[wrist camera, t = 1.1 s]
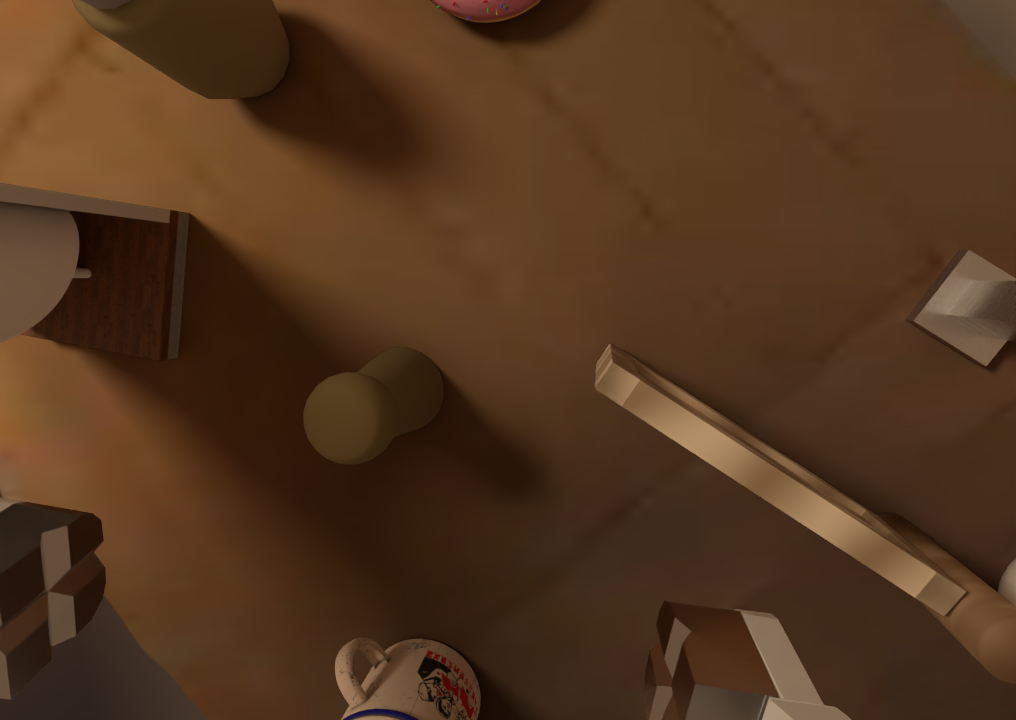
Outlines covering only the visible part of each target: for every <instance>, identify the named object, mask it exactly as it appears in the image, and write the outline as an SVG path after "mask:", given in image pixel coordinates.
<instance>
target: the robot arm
mask: <svg viewBox="0 0 1016 720" xmlns="http://www.w3.org/2000/svg"><path fill="white" fill-rule="evenodd" d="M103 541H104V540H103V532H102V523H101V520H100V519H99V518H98V517H96V516H95V515H94V514H93V513H87V512H82V511H76V510H70V509H64V508H59V507H53V506H47V505H41V504H36V503H30V502H22V501H17V500H11V499H4V498H0V698H4V699H11V698H13V697H14V696H15V695H16V694H17V693H18V692H19V691H20V690H21V689H22V688H23V687H24V686H25V685H26V684H27V683H28V682H29V681H30V680H31V679H32V678H33V677H34V676H35V675H36V674H37V673H38V672H39V671H40V670H41V669H42V668H43V667H44V666H46V665H47V664H48V663H49V662H50V661H51V657H52V646H54V645H56V644H58V643H60V642H63V641H65V640H67V639H69V638H72V637H74V636H76V635H77V634H78V633H79V632H80V631H81V630H82V629H83V628H84V627H85V626H86V625H87V624H88V623H89V622H90V621H91V619H92V618H93V616H94V614H95V612H96V610H97V608H98V607H99V605H100V603H101V601H102V599H103V594H104V589H105V584H106V575H105V567H104V565H103V564H102V563H101V561H100V560H99V559H98V557H97V556H96V555H95V553H94V552H95V550H96V549H97V548H98V547H99V546H100V544H101V543H102V542H103ZM656 626H657V630H658V634H659V639H660V642H659V643H658V644H657V645H656V646H655V647H653V648H652V649H651V650H650V652H649V656H648V661H647V666H646V671H645V685H644V697H645V709H646V715H647V720H851V719H850V718H849V717H848V716H846V715H845V714H844V713H843V712H841V711H840V710H839V709H838V708H836V707H831V706H825V705H824V704H823V702H822V700H821V698H820V697H819V695H818V693H817V691H816V689H815V687H814V685H813V684H812V682H811V680H810V678H809V676H808V674H807V672H806V671H805V669H804V667H803V665H802V663H801V661H800V659H799V658H798V656H797V654H796V652H795V650H794V648H793V646H792V645H791V643H790V641H789V639H788V637H787V635H786V633H785V632H784V630H783V628H782V626H781V624H780V622H779V620H778V619H777V618H776V617H775V616H773V615H772V614H770V613H762V612H753V611H745V610H729V609H722V608H715V607H708V606H700V605H693V604H686V603H679V602H672V601H665V600H664V602H663V604H662V606H661V608H660V611H659V615H658V619H657V623H656Z"/></svg>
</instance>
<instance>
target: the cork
mask: <svg viewBox="0 0 1016 720" xmlns="http://www.w3.org/2000/svg"><path fill="white" fill-rule="evenodd" d="M443 399H444V383H443V380H442V377H441V374H440V371H439V370H438V368H437V367H436V365H435V364H434V363H433V361H432V360H431V359H429V358H428V357H427V356H426V355H424V354H423V353H422V352H419V351H416V350H414V349H411V348H399V347H396V348H393V349H389V350H386V351H383V352H382V353H381V354H379V355H378V356H376V357H375V358H374V359H372V360H371V361H370V362H369V363H367V364H366V365H365V366H364V367H362V368H361V369H360V370H359V371H357V372H344V373H340V374H337V375H334V376H330V377H328V378H327V379H325V380H324V381H322V382H321V383H320V384H318V385H317V386H316V387H315V389H314V390H313V391H312V393H311V394H310V396H309V397H308V399H307V401H306V405H305V408H304V412H303V420H304V428H305V431H306V434H307V437H308V440H309V441H310V443H311V444H312V445H313V447H314V448H315V450H316V451H317V452H319V453H320V454H321V455H322V456H324V457H325V458H326V459H328V460H331V461H333V462H336V463H338V464H349V465H355V464H359V463H363V462H367V461H370V460H372V459H373V458H375V457H376V456H378V455H379V454H381V453H382V452H383V451H384V450H385V449H386V448H387V446H388V445H389V444H390V442H391V441H392V440H393V437H396V436H399V435H402V434H405V433H408V432H411V431H414V430H417V429H419V428H422V427H423V426H425V425H426V424H428V423H429V422H431V421H432V420H433V419H434V417H435V416H436V415H437V413H438V412H439V411H440V408H441V405H442V402H443Z"/></svg>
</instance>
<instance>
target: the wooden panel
mask: <svg viewBox="0 0 1016 720" xmlns="http://www.w3.org/2000/svg"><path fill="white" fill-rule="evenodd" d="M595 389H596V390H598V391H599V392H601V393H602V394H604V395H605V396H607V397H608V398H610V399H611V400H613V401H614V402H616V403H618V404H619V405H621V406H622V407H624V408H625V409H627V410H628V411H630V412H631V413H633V414H634V415H636V416H637V417H639V418H640V419H642V420H644V421H645V422H647V423H648V424H650V425H651V426H653V427H654V428H656V429H657V430H659V431H660V432H662V433H663V434H665V435H667V436H668V437H670V438H671V439H673V440H674V441H676V442H677V443H679V444H680V445H682V446H683V447H685V448H686V449H688V450H690V451H691V452H693V453H694V454H696V455H697V456H699V457H700V458H702V459H703V460H705V461H706V462H708V463H709V464H711V465H713V466H714V467H716V468H717V469H719V470H720V471H722V472H723V473H725V474H726V475H728V476H729V477H731V478H732V479H734V480H736V481H737V482H739V483H740V484H742V485H743V486H745V487H746V488H748V489H749V490H751V491H752V492H754V493H755V494H757V495H758V496H760V497H762V498H763V499H765V500H766V501H768V502H769V503H771V504H772V505H774V506H775V507H777V508H778V509H780V510H781V511H783V512H785V513H786V514H788V515H789V516H791V517H792V518H794V519H795V520H797V521H798V522H800V523H801V524H803V525H804V526H806V527H808V528H809V529H811V530H812V531H814V532H815V533H817V534H818V535H820V536H821V537H823V538H824V539H826V540H827V541H829V542H831V543H832V544H834V545H835V546H837V547H838V548H840V549H841V550H843V551H844V552H846V553H847V554H849V555H850V556H852V557H854V558H855V559H857V560H858V561H860V562H861V563H863V564H864V565H866V566H867V567H869V568H870V569H872V570H873V571H875V572H876V573H878V574H880V575H881V576H883V577H884V578H886V579H887V580H889V581H890V582H892V583H893V584H895V585H896V586H898V587H899V588H901V589H903V590H904V591H906V592H907V593H909V594H910V595H912V596H913V597H915V598H916V599H918V600H919V601H921V602H922V603H924V604H926V605H927V606H929V607H930V608H932V609H933V610H935V611H936V612H938V613H939V614H941V615H942V616H945V615H946V614H947V613H948V612H949V611H950V609H951V608H952V607H953V606H954V605H955V604H956V603H957V601H958V600H959V599H960V598H961V597H962V596H963V595H964V594H965V592H966V591H965V590H964V589H963V588H962V587H960V586H959V585H958V584H957V583H956V582H955V581H953V580H952V579H951V578H950V577H949V576H948V575H946V574H945V573H944V572H943V571H942V570H941V569H939V568H938V567H937V566H936V565H935V564H934V563H932V562H931V561H930V560H929V559H928V558H927V557H925V556H924V555H923V554H922V553H921V552H920V551H918V550H917V549H916V548H915V547H914V546H913V545H911V544H910V543H909V542H908V541H907V540H906V539H904V538H903V537H902V536H901V535H900V534H899V533H897V532H896V531H895V530H894V529H893V528H892V527H890V526H889V525H888V524H887V523H886V522H885V521H883V520H882V519H881V518H880V517H879V516H878V515H876V514H875V513H873V512H871V511H870V510H868V509H867V508H865V507H864V506H862V505H861V504H859V503H858V502H856V501H854V500H853V499H851V498H850V497H848V496H847V495H845V494H844V493H842V492H840V491H839V490H837V489H836V488H834V487H833V486H831V485H830V484H828V483H827V482H825V481H823V480H822V479H820V478H819V477H817V476H816V475H814V474H813V473H811V472H810V471H808V470H806V469H805V468H803V467H802V466H800V465H799V464H797V463H796V462H794V461H793V460H791V459H789V458H788V457H786V456H785V455H783V454H782V453H780V452H779V451H777V450H776V449H774V448H772V447H771V446H769V445H768V444H766V443H765V442H763V441H762V440H760V439H759V438H757V437H755V436H754V435H752V434H751V433H749V432H748V431H746V430H745V429H743V428H742V427H740V426H738V425H737V424H735V423H734V422H732V421H731V420H729V419H728V418H726V417H724V416H723V415H721V414H720V413H718V412H717V411H715V410H714V409H712V408H711V407H709V406H707V405H706V404H704V403H703V402H701V401H700V400H698V399H697V398H695V397H694V396H692V395H690V394H689V393H687V392H686V391H684V390H683V389H681V388H680V387H678V386H677V385H675V384H673V383H672V382H670V381H669V380H667V379H666V378H664V377H663V376H661V375H660V374H658V373H656V372H655V371H653V370H652V369H650V368H649V367H647V366H646V365H644V364H643V363H641V362H639V361H638V360H636V359H635V358H633V357H632V356H630V355H629V354H627V353H626V352H624V351H622V350H621V349H619V348H618V347H616V346H615V345H613V344H612V343H610V344H609V345H608V347H607V348H606V350H605V351H604V353H603V354H602V356H601V357H600V359H599V360H598V362H597V363H596V377H595Z"/></svg>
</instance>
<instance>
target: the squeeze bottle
mask: <svg viewBox="0 0 1016 720" xmlns="http://www.w3.org/2000/svg"><path fill="white" fill-rule="evenodd" d="M73 3H74V6H75V8H76V10H77V11H78V12H79V13H80V14H81V15H82V17H83V18H84V19H85V20H86V21H87V22H88V23H89V24H90V25H91V27H92V28H94V29H95V30H97V31H99V32H100V33H102V34H103V35H105V36H106V37H108V38H109V39H111V40H113V41H114V42H116V43H117V44H119V45H120V46H122V47H123V48H125V49H127V50H128V51H130V52H131V53H133V54H134V55H136V56H137V57H139V58H141V59H142V60H144V61H145V62H147V63H148V64H150V65H152V66H153V67H155V68H156V69H158V70H159V71H161V72H162V73H164V74H166V75H167V76H169V77H170V78H172V79H173V80H175V81H176V82H178V83H180V84H181V85H183V86H184V87H186V88H187V89H189V90H191V91H194V92H196V93H198V94H200V95H202V96H204V97H206V98H208V99H236V98H248V97H258V96H260V95H263V94H265V93H267V92H269V91H271V90H273V89H274V88H275V86H276V85H277V84H278V83H279V82H280V81H281V80H282V79H283V77H284V74H285V72H286V69H287V66H288V64H289V41H288V38H287V35H286V32H285V30H284V27H283V25H282V22H281V20H280V18H279V15H278V13H277V11H276V8H275V6H274V4H273V1H272V0H73Z"/></svg>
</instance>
